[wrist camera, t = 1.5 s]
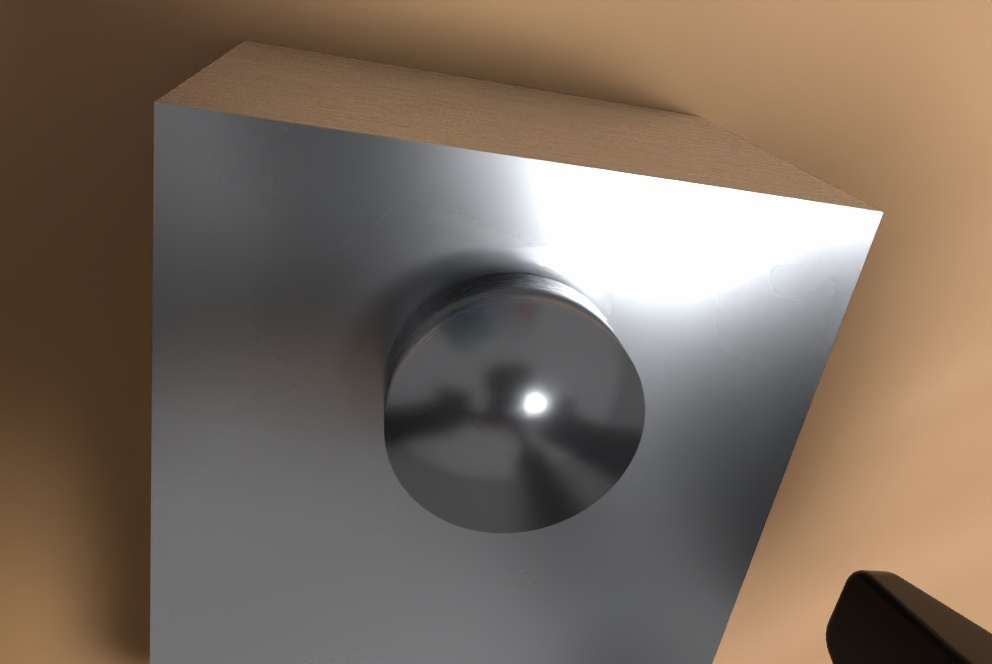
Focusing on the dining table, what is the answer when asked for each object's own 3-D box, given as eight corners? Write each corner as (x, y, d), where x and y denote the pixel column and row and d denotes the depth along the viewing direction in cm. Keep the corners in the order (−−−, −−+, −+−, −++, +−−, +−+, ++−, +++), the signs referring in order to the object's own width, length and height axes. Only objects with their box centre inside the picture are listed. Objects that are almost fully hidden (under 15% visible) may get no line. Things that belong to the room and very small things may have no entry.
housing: (540, 677, 13) (615, 1014, 9) (216, 669, 12) (132, 1041, 8) (692, 112, 9) (933, 239, 5) (249, 38, 9) (126, 119, 4)
